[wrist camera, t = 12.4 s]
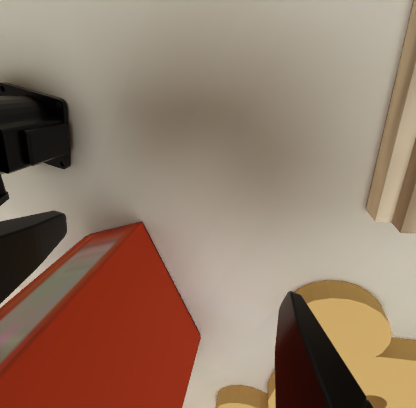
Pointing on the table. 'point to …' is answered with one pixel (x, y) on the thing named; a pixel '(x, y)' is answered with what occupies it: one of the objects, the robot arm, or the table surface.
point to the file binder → (98, 330)
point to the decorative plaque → (350, 349)
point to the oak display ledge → (398, 147)
